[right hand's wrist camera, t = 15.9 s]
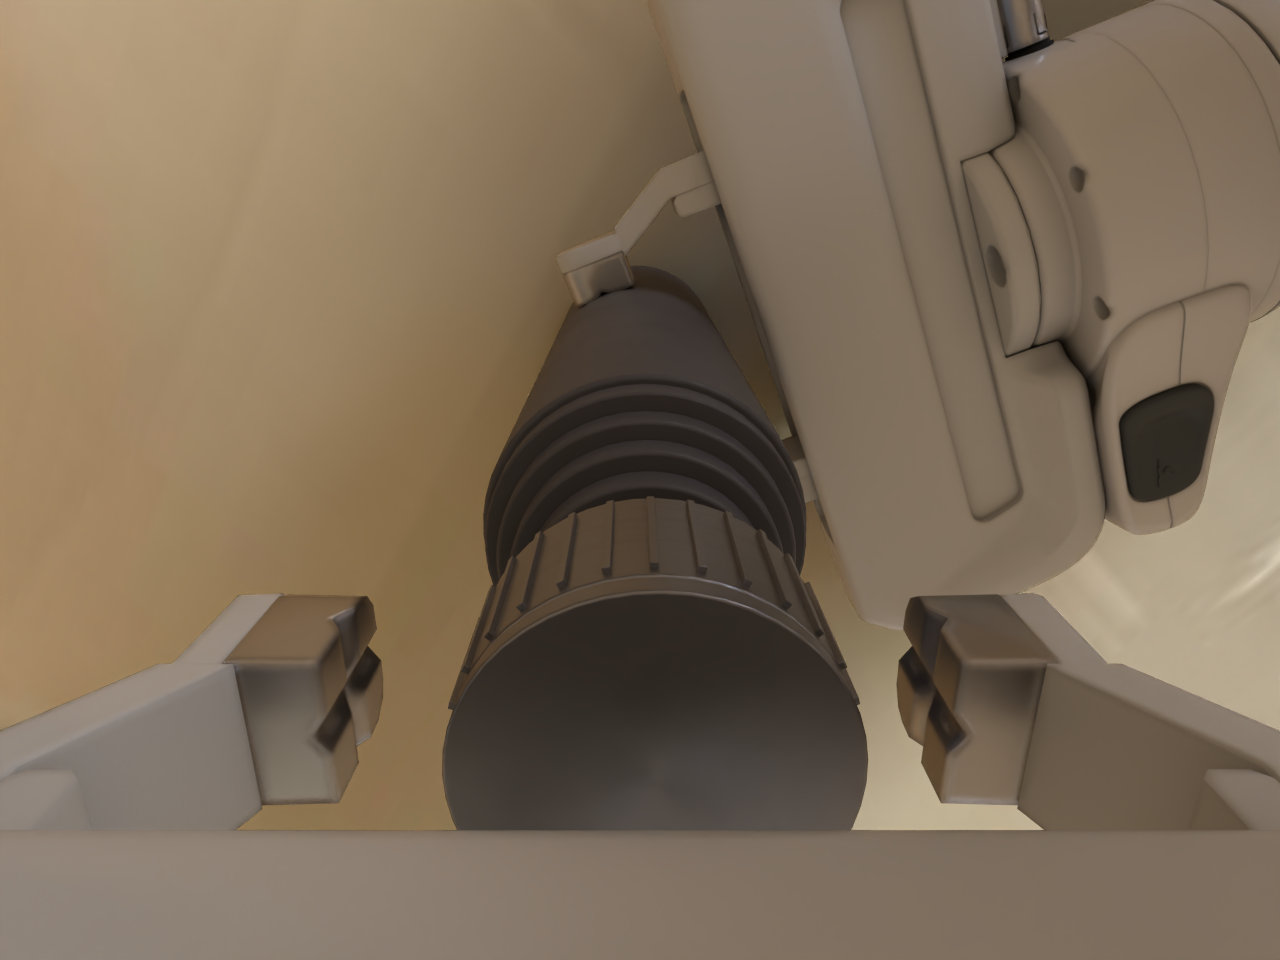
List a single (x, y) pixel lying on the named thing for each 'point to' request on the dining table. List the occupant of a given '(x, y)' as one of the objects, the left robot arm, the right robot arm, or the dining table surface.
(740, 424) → the bottle
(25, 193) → the dining table surface
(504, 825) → the cap
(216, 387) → the dining table surface
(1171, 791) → the right robot arm
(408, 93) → the dining table surface
